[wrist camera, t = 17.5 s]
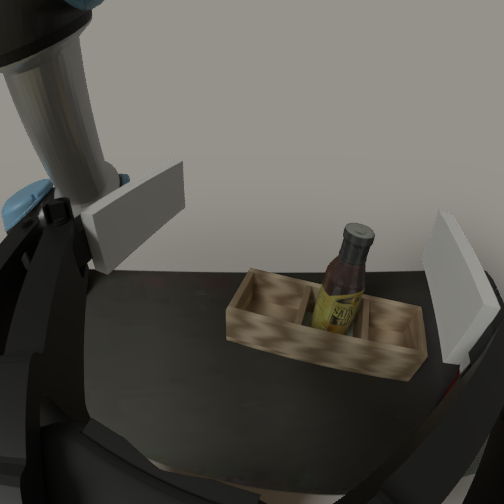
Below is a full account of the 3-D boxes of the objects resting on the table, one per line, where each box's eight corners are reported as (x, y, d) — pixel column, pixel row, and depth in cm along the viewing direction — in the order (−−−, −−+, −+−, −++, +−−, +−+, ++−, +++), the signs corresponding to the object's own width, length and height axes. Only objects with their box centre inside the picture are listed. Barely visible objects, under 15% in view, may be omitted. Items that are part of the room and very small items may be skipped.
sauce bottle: (321, 355, 42) (357, 249, 31) (300, 329, 47) (323, 223, 35) (352, 340, 45) (391, 237, 33) (330, 316, 49) (358, 215, 38)
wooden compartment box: (226, 339, 46) (225, 310, 42) (248, 297, 54) (250, 267, 50) (408, 381, 38) (427, 356, 34) (406, 333, 47) (421, 306, 43)
